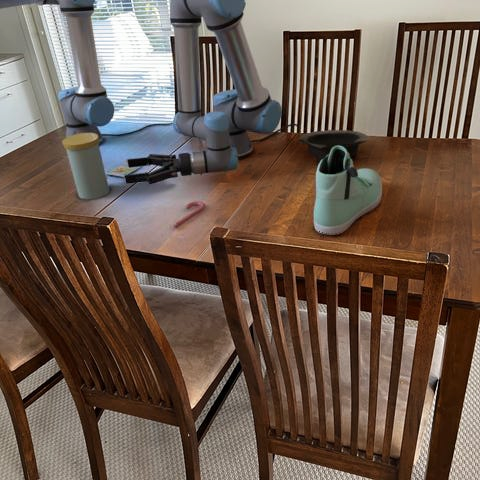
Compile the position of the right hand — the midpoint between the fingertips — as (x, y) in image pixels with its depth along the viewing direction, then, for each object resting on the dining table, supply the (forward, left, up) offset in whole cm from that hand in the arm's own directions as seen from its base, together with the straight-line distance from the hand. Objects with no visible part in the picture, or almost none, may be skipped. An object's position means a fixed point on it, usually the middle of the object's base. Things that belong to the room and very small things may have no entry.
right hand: (126, 171), depth 157 cm
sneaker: (-47, +55, -7) cm, 72 cm away
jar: (+11, -6, -7) cm, 14 cm away
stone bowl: (-70, +21, -7) cm, 73 cm away
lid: (+11, -6, +12) cm, 17 cm away
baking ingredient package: (-6, -19, -7) cm, 21 cm away
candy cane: (-7, +29, -7) cm, 31 cm away
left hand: (+40, -34, +20) cm, 56 cm away
